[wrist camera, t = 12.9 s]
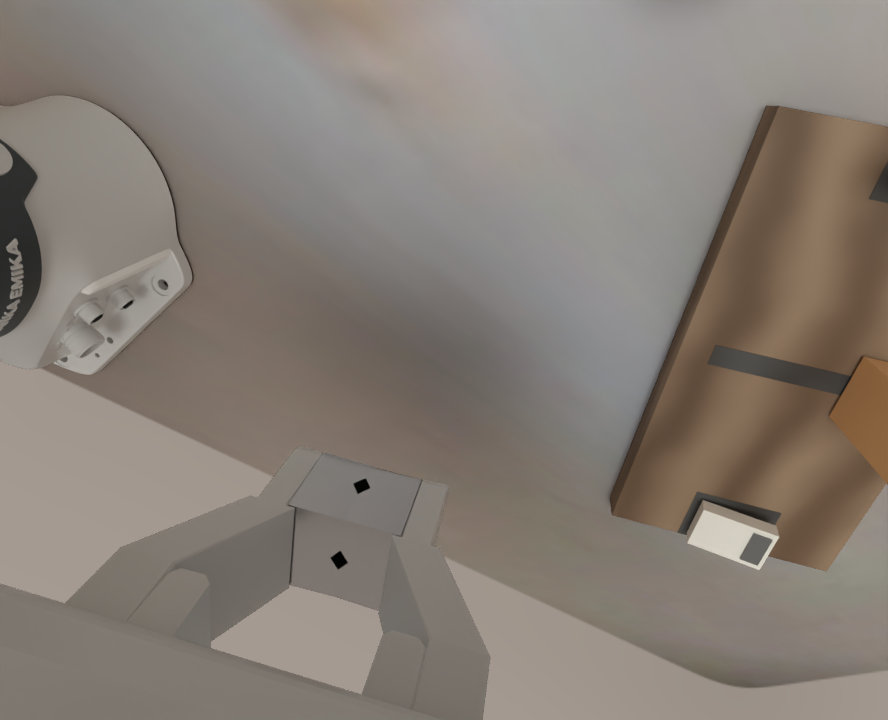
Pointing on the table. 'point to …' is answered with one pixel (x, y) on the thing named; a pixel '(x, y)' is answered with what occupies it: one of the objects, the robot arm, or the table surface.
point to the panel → (775, 346)
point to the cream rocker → (732, 534)
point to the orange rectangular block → (866, 413)
